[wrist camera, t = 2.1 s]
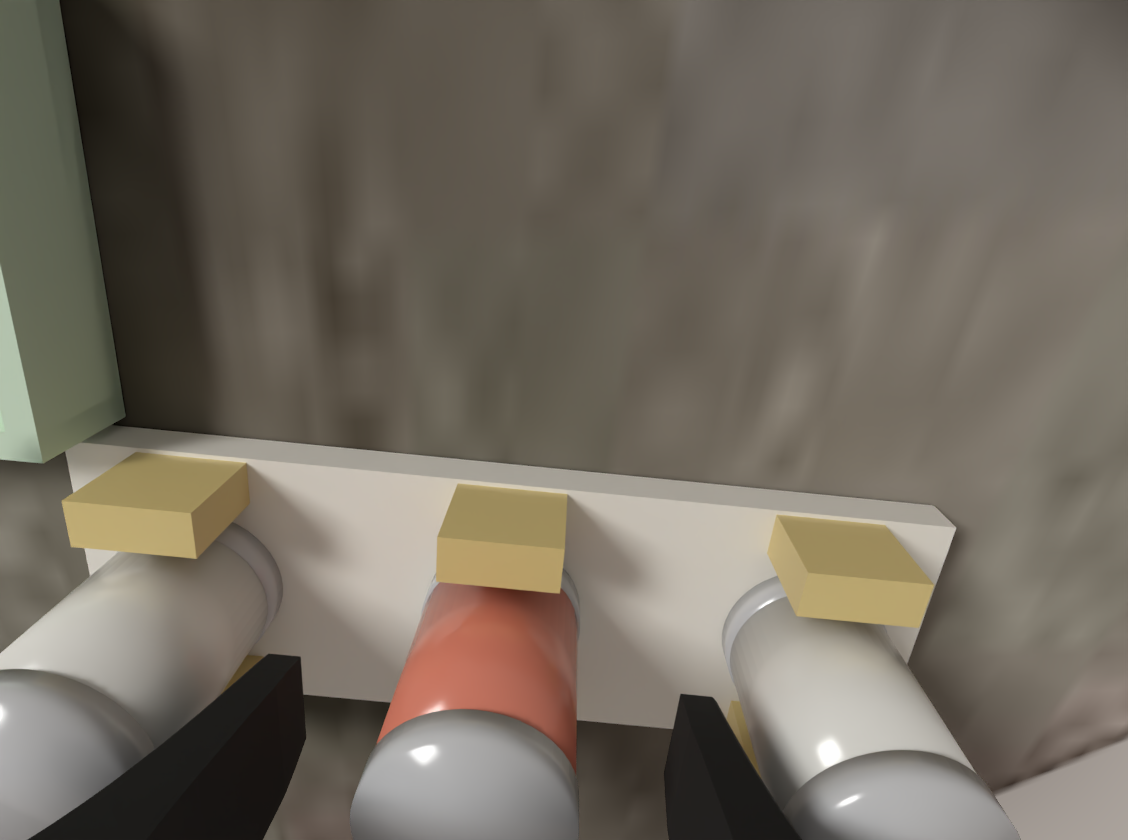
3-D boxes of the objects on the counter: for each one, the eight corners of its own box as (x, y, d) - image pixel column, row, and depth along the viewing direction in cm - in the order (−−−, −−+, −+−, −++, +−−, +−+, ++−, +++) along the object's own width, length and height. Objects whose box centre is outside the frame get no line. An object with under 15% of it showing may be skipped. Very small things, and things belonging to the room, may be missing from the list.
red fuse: (572, 674, 16) (566, 916, 11) (426, 660, 16) (352, 897, 11) (587, 549, 15) (590, 758, 10) (428, 534, 15) (346, 735, 10)
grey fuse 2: (854, 701, 16) (980, 954, 11) (709, 687, 16) (767, 934, 11) (895, 578, 15) (1058, 801, 10) (737, 564, 15) (818, 778, 10)
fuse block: (861, 717, 18) (916, 829, 15) (135, 648, 18) (44, 748, 15) (933, 505, 15) (1017, 588, 12) (94, 423, 15) (-24, 488, 12)
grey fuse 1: (287, 647, 16) (149, 879, 11) (140, 633, 16) (-69, 860, 11) (277, 519, 15) (115, 714, 10) (116, 504, 15) (-134, 693, 10)
